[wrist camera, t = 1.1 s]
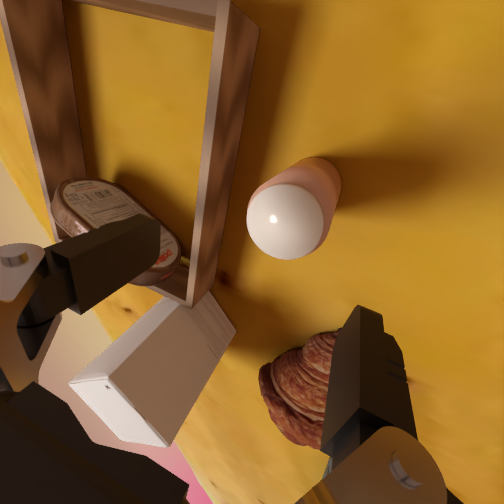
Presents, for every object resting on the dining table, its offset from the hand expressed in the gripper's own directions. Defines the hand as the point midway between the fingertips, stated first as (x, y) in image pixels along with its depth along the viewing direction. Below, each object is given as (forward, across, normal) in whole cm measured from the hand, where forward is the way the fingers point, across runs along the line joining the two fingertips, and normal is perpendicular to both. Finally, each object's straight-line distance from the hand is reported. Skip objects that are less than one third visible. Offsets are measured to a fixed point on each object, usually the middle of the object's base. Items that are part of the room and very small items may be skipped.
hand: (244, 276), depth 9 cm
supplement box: (+16, +9, +22) cm, 28 cm away
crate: (+15, +18, +3) cm, 24 cm away
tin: (+16, +18, +10) cm, 26 cm away
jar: (+15, 0, 0) cm, 15 cm away
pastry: (+16, -9, +24) cm, 30 cm away
